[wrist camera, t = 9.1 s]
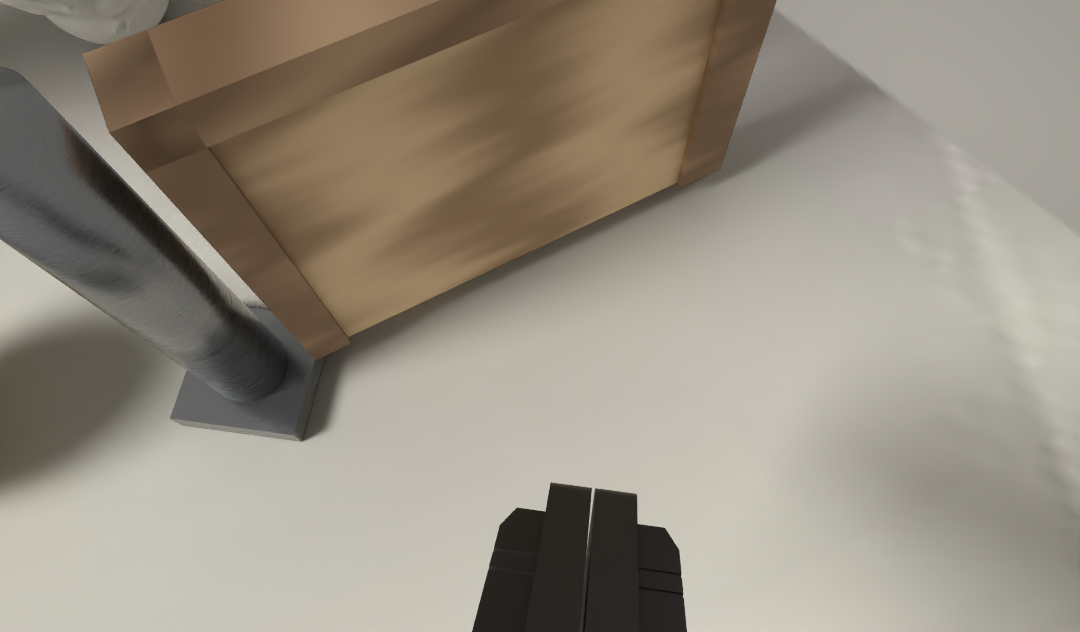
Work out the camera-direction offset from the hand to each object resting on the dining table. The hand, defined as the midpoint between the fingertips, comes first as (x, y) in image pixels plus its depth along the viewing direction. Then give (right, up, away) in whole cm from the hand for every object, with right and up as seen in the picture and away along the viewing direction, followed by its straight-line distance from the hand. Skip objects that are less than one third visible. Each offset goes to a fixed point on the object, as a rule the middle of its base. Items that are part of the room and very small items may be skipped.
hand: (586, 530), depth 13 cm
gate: (-2, +6, +12) cm, 14 cm away
